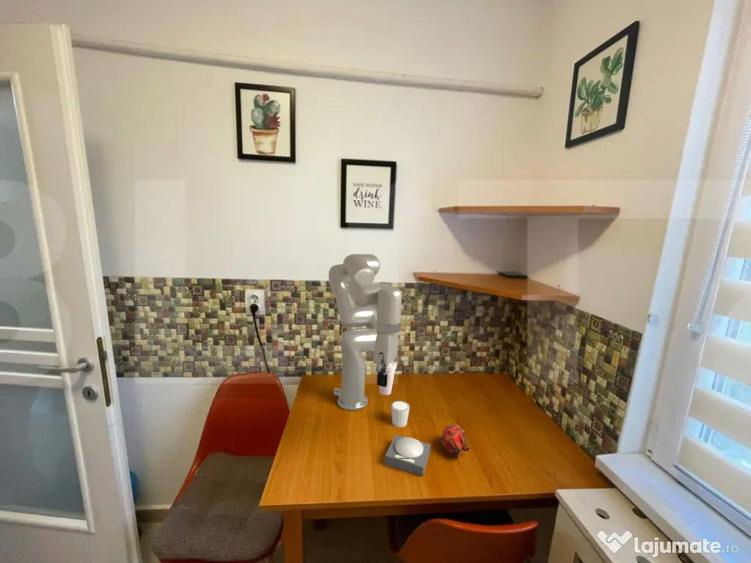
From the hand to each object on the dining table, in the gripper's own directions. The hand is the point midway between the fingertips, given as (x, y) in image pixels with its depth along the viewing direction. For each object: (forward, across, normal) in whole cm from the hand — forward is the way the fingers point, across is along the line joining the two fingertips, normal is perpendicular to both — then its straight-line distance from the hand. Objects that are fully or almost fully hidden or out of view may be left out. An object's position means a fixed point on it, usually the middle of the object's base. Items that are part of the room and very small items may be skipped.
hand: (385, 380), depth 100 cm
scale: (+24, +1, +9) cm, 26 cm away
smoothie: (+4, 0, 0) cm, 4 cm away
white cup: (+24, -16, 0) cm, 29 cm away
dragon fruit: (+24, -10, +22) cm, 34 cm away
